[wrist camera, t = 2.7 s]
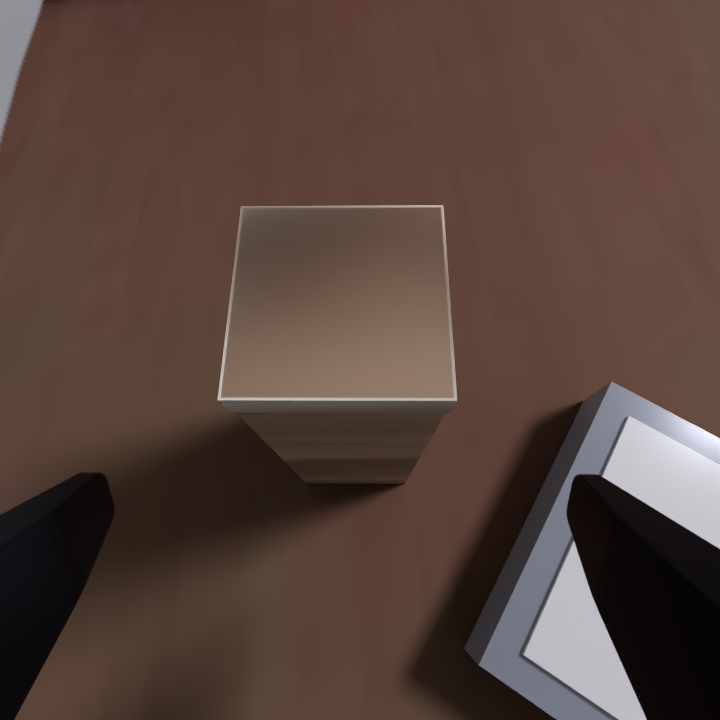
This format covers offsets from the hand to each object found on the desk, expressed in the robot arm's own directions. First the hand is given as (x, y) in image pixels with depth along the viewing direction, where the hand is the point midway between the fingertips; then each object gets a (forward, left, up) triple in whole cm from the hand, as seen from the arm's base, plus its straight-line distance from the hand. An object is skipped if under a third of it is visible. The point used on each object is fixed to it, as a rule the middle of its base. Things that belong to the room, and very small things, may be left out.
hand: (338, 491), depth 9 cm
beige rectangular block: (+3, +2, -10) cm, 11 cm away
